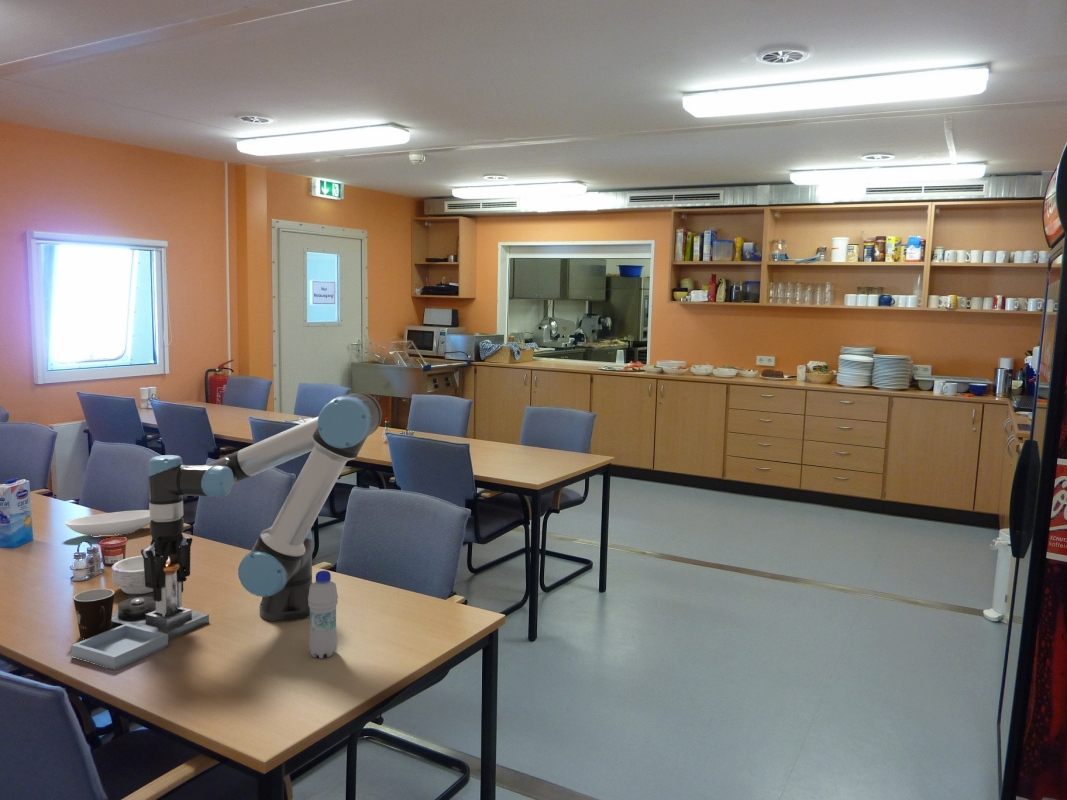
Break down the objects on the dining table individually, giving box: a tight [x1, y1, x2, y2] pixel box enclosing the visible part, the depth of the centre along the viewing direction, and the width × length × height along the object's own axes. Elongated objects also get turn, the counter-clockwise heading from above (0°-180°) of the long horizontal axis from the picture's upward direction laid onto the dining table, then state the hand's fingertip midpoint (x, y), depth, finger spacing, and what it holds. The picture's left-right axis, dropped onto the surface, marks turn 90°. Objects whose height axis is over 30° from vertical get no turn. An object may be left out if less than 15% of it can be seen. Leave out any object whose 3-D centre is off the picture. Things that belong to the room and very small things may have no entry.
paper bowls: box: [111, 555, 170, 595], centre depth 216 cm, size 15×15×8 cm
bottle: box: [308, 570, 339, 659], centre depth 177 cm, size 7×7×20 cm
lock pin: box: [160, 561, 179, 618], centre depth 190 cm, size 5×5×14 cm
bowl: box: [64, 509, 152, 537], centre depth 270 cm, size 30×15×6 cm, turn 129°
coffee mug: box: [72, 588, 115, 640], centre depth 183 cm, size 12×9×10 cm
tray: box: [70, 623, 169, 671], centre depth 176 cm, size 14×14×3 cm
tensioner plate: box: [111, 596, 210, 641], centre depth 192 cm, size 22×14×5 cm, turn 66°
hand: (169, 609), depth 190 cm, fingers closed on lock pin, 4 cm apart
